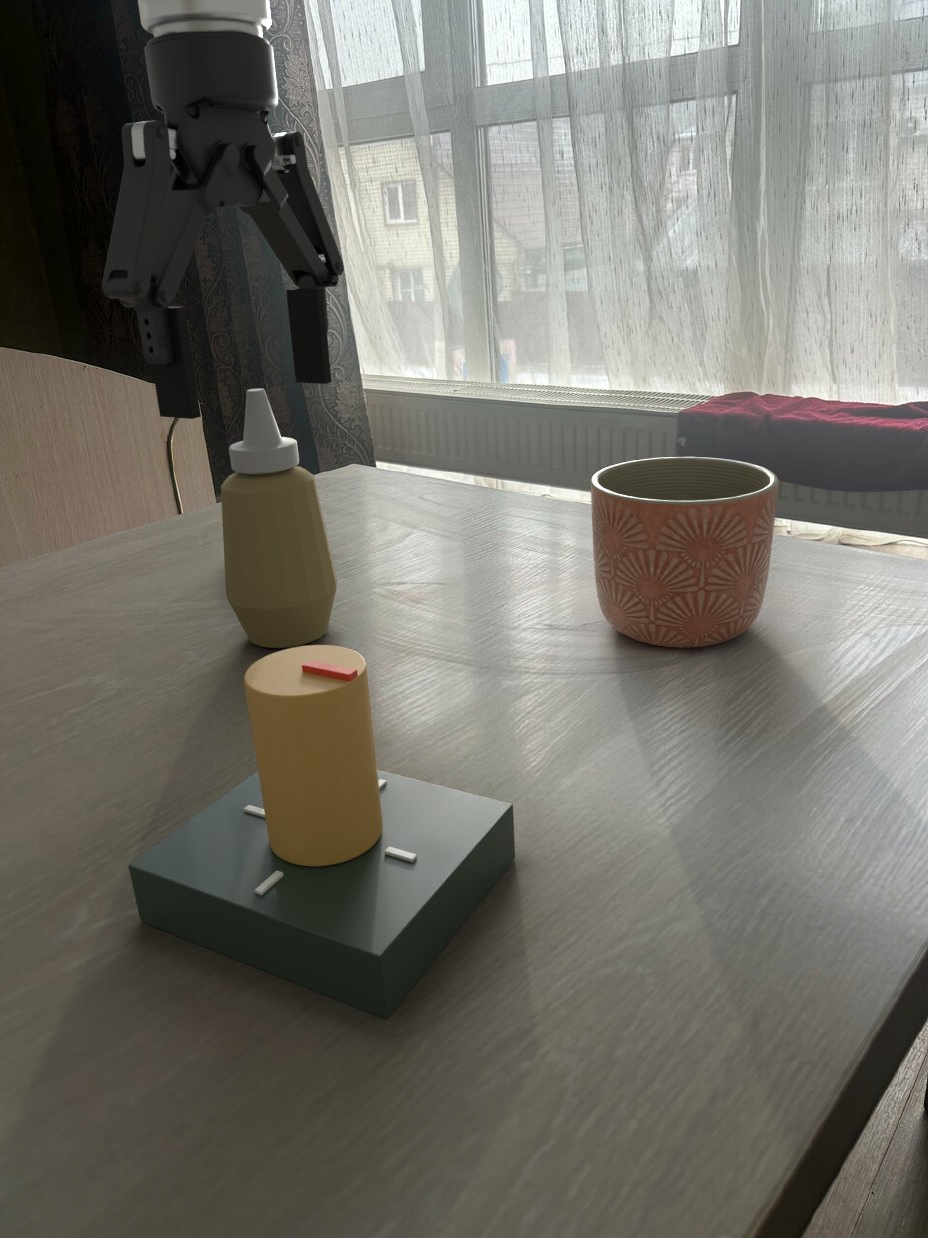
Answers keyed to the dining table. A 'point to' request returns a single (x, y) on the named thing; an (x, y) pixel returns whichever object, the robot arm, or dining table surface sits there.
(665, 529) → the planter
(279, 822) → the dial
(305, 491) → the squeeze bottle
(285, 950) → the panel
